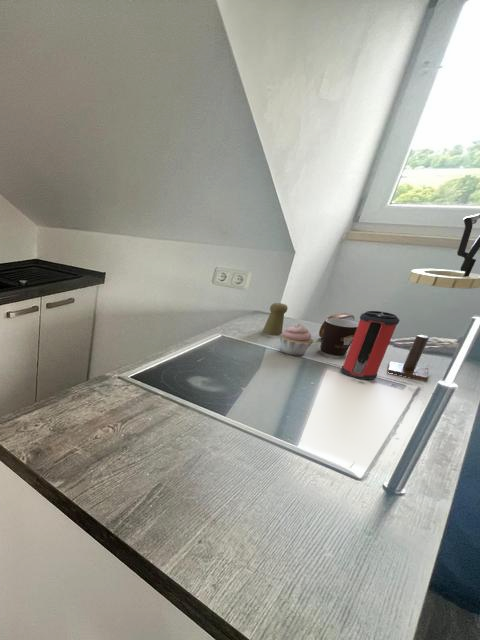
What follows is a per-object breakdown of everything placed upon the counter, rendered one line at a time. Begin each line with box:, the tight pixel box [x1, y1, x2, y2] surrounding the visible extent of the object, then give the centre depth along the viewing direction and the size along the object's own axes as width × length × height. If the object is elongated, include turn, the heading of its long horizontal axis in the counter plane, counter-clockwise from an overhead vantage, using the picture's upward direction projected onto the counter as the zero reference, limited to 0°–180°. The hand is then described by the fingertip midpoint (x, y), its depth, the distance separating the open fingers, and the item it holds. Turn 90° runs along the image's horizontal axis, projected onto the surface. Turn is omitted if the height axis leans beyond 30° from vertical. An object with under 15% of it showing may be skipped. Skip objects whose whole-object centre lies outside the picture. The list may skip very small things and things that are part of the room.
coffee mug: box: [319, 318, 359, 357], centre depth 123 cm, size 12×9×10 cm
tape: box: [407, 268, 480, 290], centre depth 107 cm, size 14×14×3 cm
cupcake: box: [278, 322, 314, 356], centre depth 125 cm, size 9×9×10 cm
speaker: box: [340, 310, 400, 381], centre depth 107 cm, size 8×8×18 cm
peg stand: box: [387, 334, 430, 383], centre depth 109 cm, size 8×8×11 cm
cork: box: [262, 302, 289, 336], centre depth 141 cm, size 6×6×11 cm
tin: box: [318, 312, 355, 338], centre depth 136 cm, size 15×3×8 cm, turn 114°
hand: (471, 284), depth 104 cm, fingers closed on tape, 3 cm apart
